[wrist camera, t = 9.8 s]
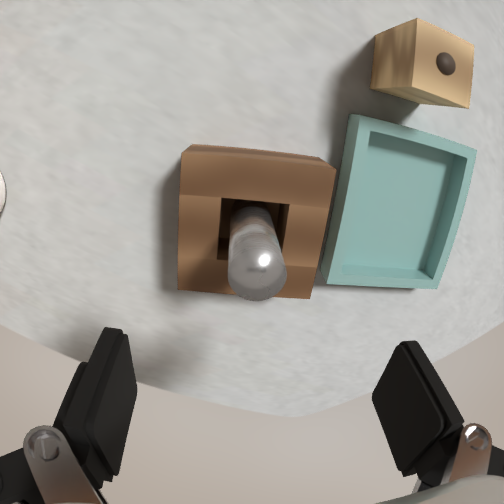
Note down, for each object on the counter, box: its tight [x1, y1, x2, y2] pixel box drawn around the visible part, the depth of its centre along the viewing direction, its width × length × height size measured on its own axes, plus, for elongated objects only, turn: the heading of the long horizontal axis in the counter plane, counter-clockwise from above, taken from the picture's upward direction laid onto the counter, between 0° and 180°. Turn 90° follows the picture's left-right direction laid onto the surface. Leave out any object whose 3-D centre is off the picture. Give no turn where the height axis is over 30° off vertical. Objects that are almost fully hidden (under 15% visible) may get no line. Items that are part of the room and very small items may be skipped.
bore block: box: [178, 144, 336, 299], centre depth 24 cm, size 10×10×5 cm
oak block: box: [370, 18, 474, 109], centre depth 18 cm, size 5×5×7 cm
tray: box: [320, 114, 477, 289], centre depth 25 cm, size 14×12×2 cm
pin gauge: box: [228, 199, 287, 301], centre depth 21 cm, size 3×3×10 cm
